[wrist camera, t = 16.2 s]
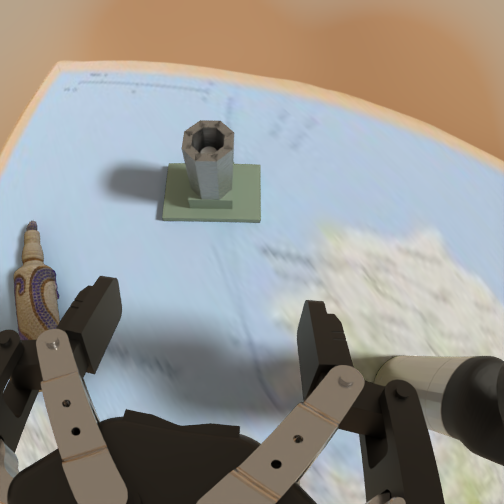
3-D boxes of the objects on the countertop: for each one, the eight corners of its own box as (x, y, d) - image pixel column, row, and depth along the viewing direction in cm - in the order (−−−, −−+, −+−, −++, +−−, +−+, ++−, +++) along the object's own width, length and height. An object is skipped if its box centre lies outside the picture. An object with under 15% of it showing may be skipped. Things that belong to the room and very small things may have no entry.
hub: (233, 164, 45) (234, 121, 35) (231, 200, 43) (232, 162, 34) (193, 163, 45) (185, 120, 35) (189, 199, 43) (179, 161, 33)
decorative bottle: (83, 386, 39) (61, 392, 33) (43, 390, 38) (20, 395, 32) (61, 221, 45) (41, 205, 39) (26, 232, 45) (4, 218, 38)
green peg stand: (259, 168, 50) (267, 125, 39) (259, 222, 47) (268, 188, 36) (170, 167, 49) (156, 124, 38) (163, 220, 46) (146, 186, 36)
